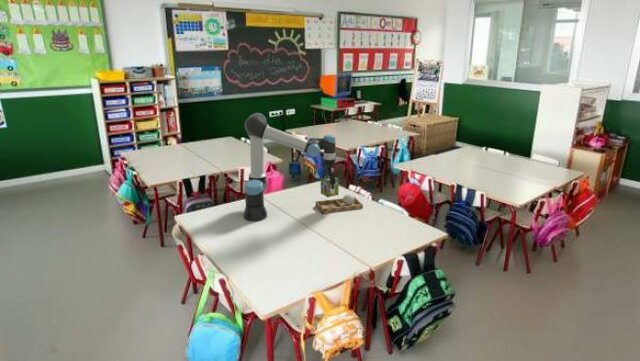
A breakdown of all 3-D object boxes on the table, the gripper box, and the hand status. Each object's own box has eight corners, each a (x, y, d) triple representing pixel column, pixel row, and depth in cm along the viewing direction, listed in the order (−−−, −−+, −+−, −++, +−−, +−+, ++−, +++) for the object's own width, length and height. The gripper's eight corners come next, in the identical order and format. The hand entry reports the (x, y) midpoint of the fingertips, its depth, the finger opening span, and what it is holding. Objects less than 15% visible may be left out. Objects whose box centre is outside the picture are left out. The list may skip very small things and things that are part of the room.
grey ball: (345, 208, 277) (345, 197, 275) (341, 203, 285) (341, 193, 282) (356, 206, 280) (356, 195, 277) (351, 202, 287) (352, 191, 284)
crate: (321, 214, 270) (321, 209, 269) (315, 206, 283) (315, 201, 282) (362, 209, 278) (362, 204, 276) (354, 201, 291) (354, 196, 290)
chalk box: (327, 197, 269) (327, 176, 264) (320, 193, 276) (320, 172, 271) (339, 195, 274) (339, 174, 269) (331, 191, 281) (331, 170, 276)
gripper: (340, 162, 258) (340, 195, 265) (329, 153, 278) (329, 184, 285) (329, 163, 255) (329, 196, 263) (319, 154, 276) (319, 185, 283)
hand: (329, 190), depth 274 cm, fingers closed on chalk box, 10 cm apart
